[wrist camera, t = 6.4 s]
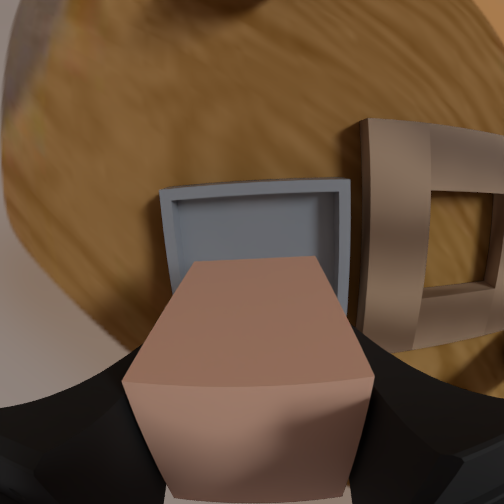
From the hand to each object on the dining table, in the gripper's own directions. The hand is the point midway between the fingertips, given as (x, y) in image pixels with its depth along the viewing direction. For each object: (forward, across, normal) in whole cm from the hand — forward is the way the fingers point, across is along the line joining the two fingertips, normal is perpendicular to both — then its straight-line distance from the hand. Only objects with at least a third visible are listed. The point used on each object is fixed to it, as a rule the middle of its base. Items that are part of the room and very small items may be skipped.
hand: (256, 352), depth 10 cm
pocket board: (+9, -13, -1) cm, 16 cm away
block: (+3, 0, 0) cm, 3 cm away
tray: (+9, 0, 0) cm, 9 cm away
